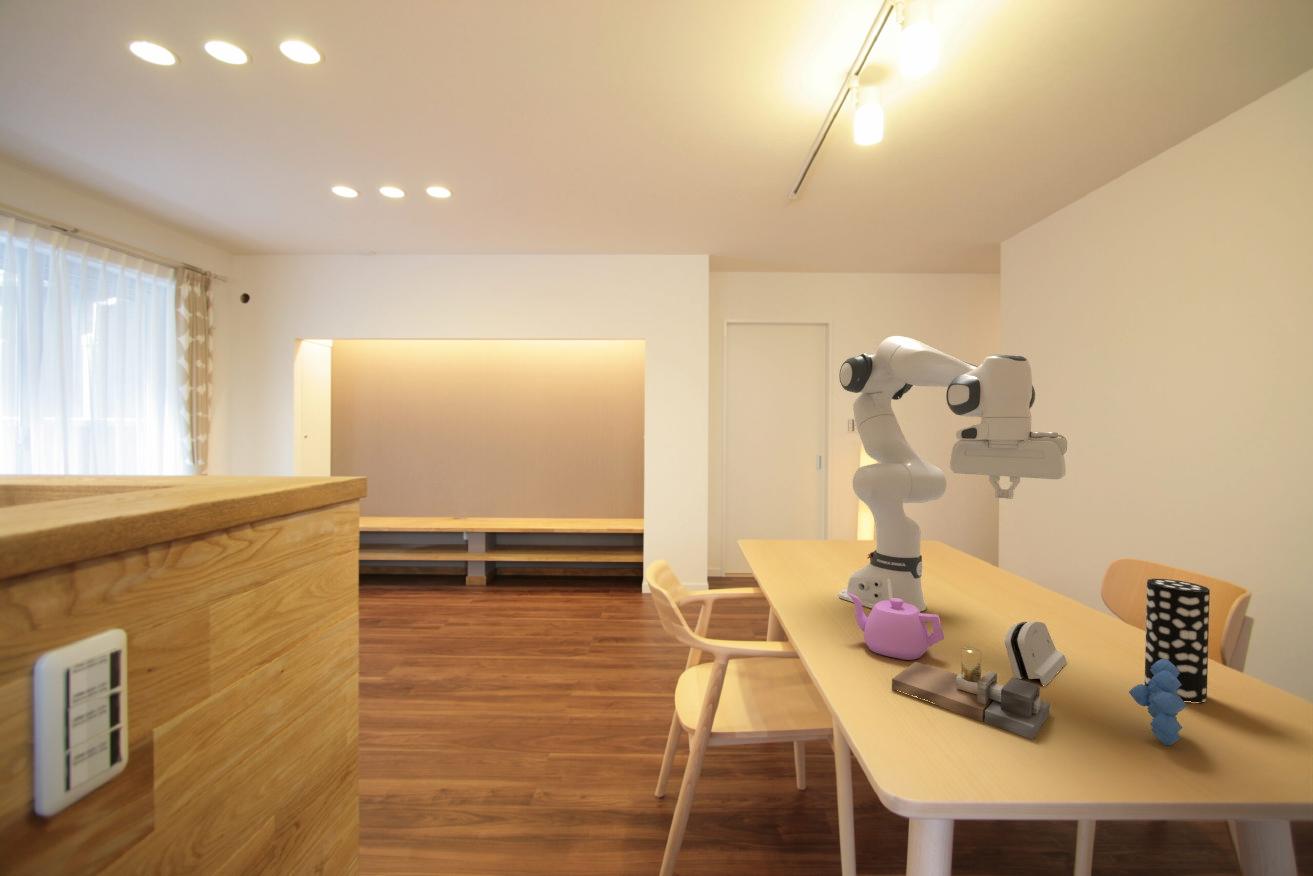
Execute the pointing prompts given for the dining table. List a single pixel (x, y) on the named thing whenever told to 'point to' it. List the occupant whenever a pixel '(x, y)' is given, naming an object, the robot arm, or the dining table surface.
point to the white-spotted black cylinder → (1179, 633)
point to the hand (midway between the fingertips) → (1004, 498)
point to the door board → (977, 698)
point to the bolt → (973, 674)
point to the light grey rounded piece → (1033, 652)
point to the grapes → (1162, 700)
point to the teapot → (897, 628)
